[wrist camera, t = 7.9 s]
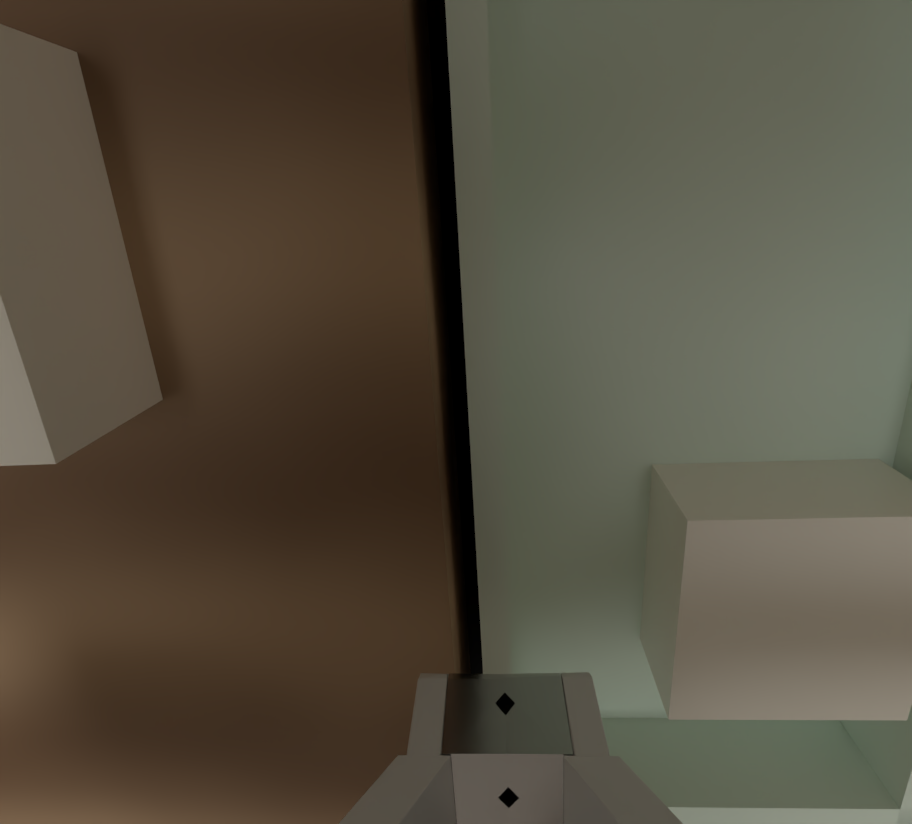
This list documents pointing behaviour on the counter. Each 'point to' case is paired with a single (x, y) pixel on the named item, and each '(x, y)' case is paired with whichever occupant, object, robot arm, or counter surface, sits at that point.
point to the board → (245, 430)
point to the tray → (677, 333)
